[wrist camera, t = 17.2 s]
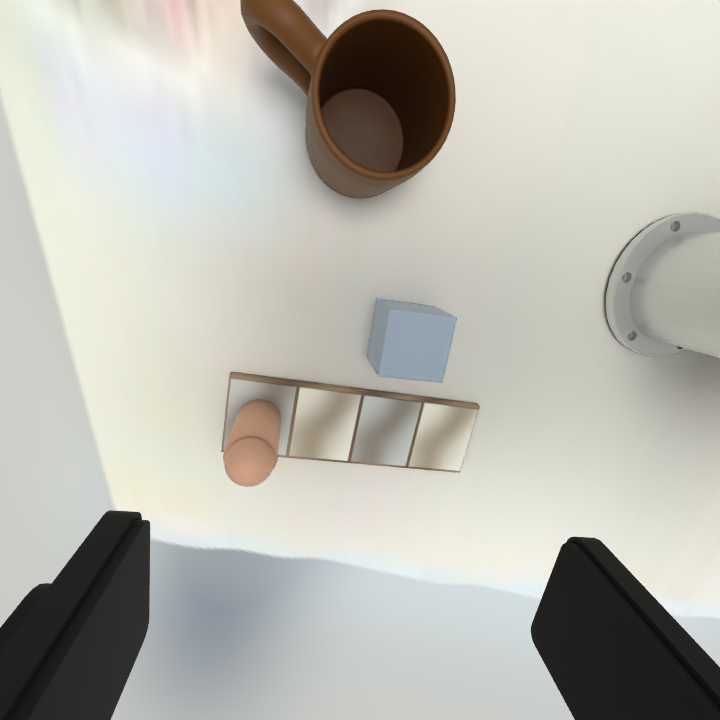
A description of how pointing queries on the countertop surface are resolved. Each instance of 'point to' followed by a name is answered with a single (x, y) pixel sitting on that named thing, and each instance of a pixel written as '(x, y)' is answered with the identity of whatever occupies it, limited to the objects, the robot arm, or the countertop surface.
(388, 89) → the mug
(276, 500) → the countertop surface
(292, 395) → the track
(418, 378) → the light blue cube
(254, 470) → the pawn
